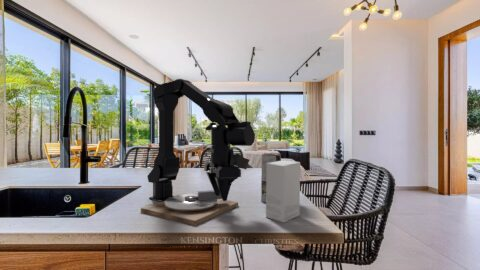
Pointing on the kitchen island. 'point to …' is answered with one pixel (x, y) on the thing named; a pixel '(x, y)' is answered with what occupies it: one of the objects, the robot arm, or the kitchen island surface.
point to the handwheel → (192, 201)
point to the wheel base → (191, 216)
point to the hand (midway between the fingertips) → (221, 198)
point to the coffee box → (265, 159)
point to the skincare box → (282, 190)
